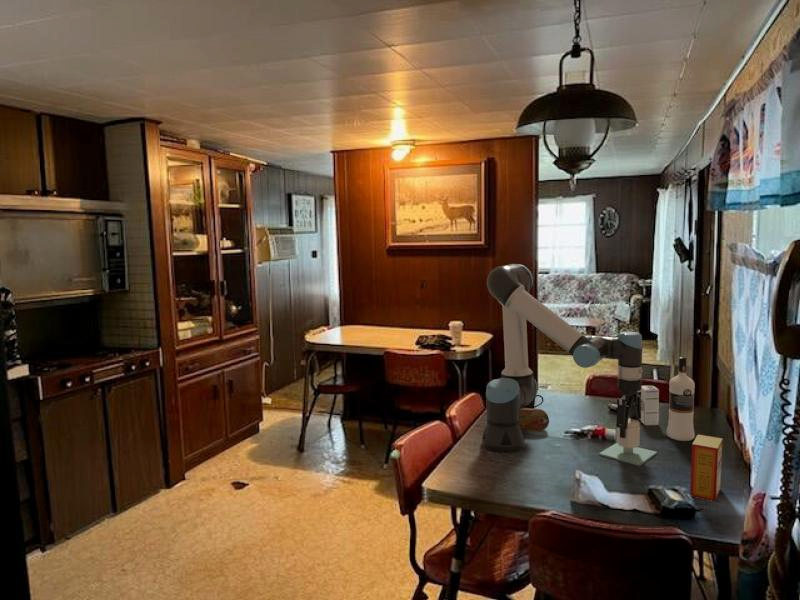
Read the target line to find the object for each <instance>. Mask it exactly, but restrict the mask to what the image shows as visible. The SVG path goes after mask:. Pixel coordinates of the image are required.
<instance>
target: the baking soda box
mask: <svg viewBox="0 0 800 600" xmlns="http://www.w3.org/2000/svg"><path fill="white" fill-rule="evenodd" d="M694 438H695V439H693V442H692V444H691V466H690V468H691V469H690V495H692V496H694V497H693V498H696V497H698V498H697V499H700V498H704V499H703V500H705V499H708V500H707V501H709V500H712V501H711V502H714V501H716V502H717V500H716V499H718V497H719V495H718V494H720V492H719V491H721V484H722V467H723V466H722V464H723V463H722V462H723V460H722V459H723V440H724V439H723V437H722V438H721V437H717V436H711V435H710V436H709V435H705V434H697V435H696V437H694ZM690 495H689V496H690Z"/></svg>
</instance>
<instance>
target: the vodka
mask: <svg viewBox="0 0 800 600" xmlns="http://www.w3.org/2000/svg"><path fill="white" fill-rule="evenodd" d="M687 361H688V358H687V357H685V356H680V357H678V374H677V375H675V376H673V377H672V378H670V379H669V383H668V384H669V390H668V391H669V402H668V403H669V405H668V406H669V408H668V423H667V428H666V435H667V437H668V438H670V439H671V440H674V441H679V442H689V441H692V440H694V438H695V430H694V429H695V427H694V414H695V412H694V409H695V408H694V407H695V406H694V405H695V401H694V399H695V391H696V390H695V388H696V384H695V381H694V380H693V379H692V378H691V377H689V376H688V375H687Z"/></svg>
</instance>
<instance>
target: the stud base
mask: <svg viewBox="0 0 800 600" xmlns="http://www.w3.org/2000/svg"><path fill="white" fill-rule="evenodd" d="M598 455H599V456H602V457H605V458H608V459H613V460H616V461H619V462H623V463H626V464H631V465H634V466H638V467H641V466H642V465H643V464H646V462H647V461H648V460H650V459H652V458H653V457H655V456H656V455H658V451H655V450H650V449H646V448H642V447H639V446H638V447H636V448H628V447H627V448H626V447H622V446H619V445H618V444H617V442H616V443H614V444H613V445H611V446H609V447H607V448H606V449H604V450H602V451H600V452H599V453H598Z"/></svg>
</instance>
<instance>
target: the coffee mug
mask: <svg viewBox="0 0 800 600" xmlns="http://www.w3.org/2000/svg"><path fill="white" fill-rule="evenodd" d="M537 397H539V398H541V402H539V404H536V405H535V403H536V398H537ZM543 403H544V397H543V395H541V394H537V395H536V397H535V398H534V399H533V401H532V402H531V403H530V404H528V405H526V406H524V407H523V408H525V409H536V408H537V407H539V406H540V405H542V404H543Z"/></svg>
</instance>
